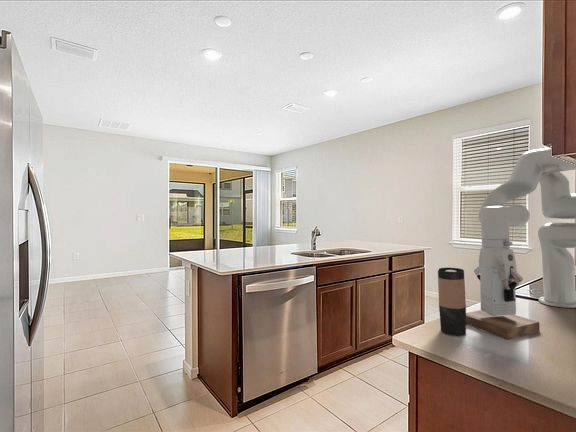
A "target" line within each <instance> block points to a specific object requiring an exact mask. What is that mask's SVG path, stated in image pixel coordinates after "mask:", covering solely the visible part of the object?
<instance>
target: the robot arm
mask: <svg viewBox="0 0 576 432" xmlns="http://www.w3.org/2000/svg"><path fill="white" fill-rule="evenodd" d="M574 170H576V165H574V164H571V163H569V162H566V161H563V160H561V159H558V158H555V157H552V156H551V149H550V148H549V147H544V148H538V149H531V150H528V151H526V152H524V153H522V154H521V155H520V157H518V160H517V162H516V163H515V166H514V168H513V169H512V172H511V173H510V176H509V179H508V180H507V181H505V182H504V183H502V184H499V185H498V187H496V188H495V189H493V190H492V191H490V192H489V193H488V194H487V196H485V198H484V200H483V202H482V204H481V206H480V207H479V211H478V221H479V222H480V227H481V231H480V233H481V247H480V250H479V255H478V257H479V258H478V266H477V267H476V268H475V269H474V270H473V272H474V274H475V275H476V278H477V279H478V280H479V281H480V267H486V268H493V269H497V270H498V274H499V279H500V280H502V281H503V283H504V285H505V287H506V289H504V301H505V302H510V301H513V300H514V289H515V290H516V289H517V287H518V286H519V285H520V283H522V281H523V280H524V278H523V276H522V275H520V274H519V273H518V271H517V263H516V262H517V261H516V257H515V256H516V255H515V254H514V250H513V248H510V247H511V246H513V241H510V228H518V227H522V226H525V225H526V224H527V223H529V220H530V212H529V210H528V208H526V206H525V205H521V204H506V203H508V202H511V201H513V200H516V199H519V198H521V197H525V196H527V195H530V194H531V193H533V192H534V191H535V190H536V189H537V187H538V185H539V186H540V191H541V192H540V196H541V197H540V198H541V199H540V200H541V212H542V215H543V216H544V218H546V219H551V220H576V193H571V191H570V180H569V179H568V177H566V175H565V174H564V173H562V172H565V171H574ZM537 233H538V234H537V237H538V241H539V244H540V249H541V259H542V261H541V262H542V266H541V267H542V283H543V286H542V289H543V296H540V297H539V298H538V302H539V303H541V304H543V305H546V306H551V307H557V308H566V309H575V308H576V276H575V275H576V274H575V258H574V256H573V255H572V253H571V252H570V251H569V250H568V249H576V222H547V223H544V224H542V225H541V226H540V227H538V230H537ZM510 274H511V275H512V278H513V279H515V280H514V281H513V280H512V278H511V276H510ZM508 278H509V279H508ZM508 282H509V283H508Z"/></svg>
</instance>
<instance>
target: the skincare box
mask: <svg viewBox="0 0 576 432" xmlns="http://www.w3.org/2000/svg"><path fill="white" fill-rule="evenodd" d="M510 276H511V278H512V275H511V274H510ZM508 279H509V278H508ZM512 280H513V281H514V280H515V279H513V278H512ZM479 283H480V285H479V286H480V310H482V311H484V312H486V313H488V314H489V315H492V316H497V315H517V303H516V302H517V301H516V300H517V298H516V297H517V295H516V291H517V290H516V288H515V289H514V300H513V301H510V302H505V301H504V289H506V287H505V285H504V283H503V281H502V280H500V279H499V274H498V270H497V269H493V268H486V267H480V280H479ZM508 283H509V282H508Z"/></svg>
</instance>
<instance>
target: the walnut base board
mask: <svg viewBox="0 0 576 432" xmlns="http://www.w3.org/2000/svg"><path fill="white" fill-rule="evenodd" d="M466 326H470V327H472V328H475V329H477V330H481V331H483V332H486V333H489V334H491V335H493V336H497V337H500V338H502V339H505V340H511V339H515V338H520V337H523V336H524V337H525V336H527V335H528V336H529V335H532V334H536V333H539V332H540V321H537V320H533V319H530V318H527V317H523V316H519V315H518V314H514V315H497V316H492V315H489V314H488V313H486V312H484V311H482V310H481V309H479V310H474V311H469V312H466Z"/></svg>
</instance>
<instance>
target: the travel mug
mask: <svg viewBox="0 0 576 432" xmlns="http://www.w3.org/2000/svg"><path fill="white" fill-rule="evenodd" d="M437 282H438V283H437V284H438V290H437V291H438V311H439V321H440V322H439V323H440V331H441V333H443V334H444V335H446V336H447V335H448V336H451V337H464V336H466V334H467V324H466V313H467V304H466V303H467V300H466V286H465V285H466V283H465V270H464V269H463V268H458V267H440V268H438V270H437Z"/></svg>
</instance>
